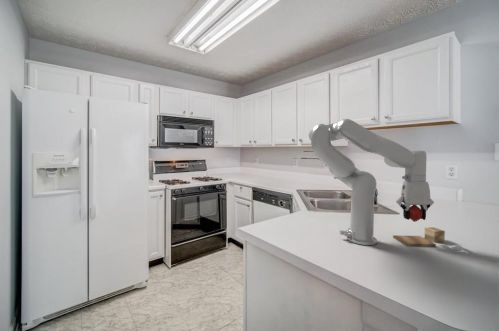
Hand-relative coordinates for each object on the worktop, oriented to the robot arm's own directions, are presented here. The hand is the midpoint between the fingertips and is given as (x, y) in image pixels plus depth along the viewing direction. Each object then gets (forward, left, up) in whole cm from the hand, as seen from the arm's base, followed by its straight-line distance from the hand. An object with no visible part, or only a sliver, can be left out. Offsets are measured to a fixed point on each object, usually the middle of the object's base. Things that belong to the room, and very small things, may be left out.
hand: (414, 218), depth 101 cm
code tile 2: (+11, +3, -11) cm, 16 cm away
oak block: (+11, +3, -11) cm, 15 cm away
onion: (0, 0, -2) cm, 2 cm away
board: (0, 0, -11) cm, 11 cm away
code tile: (+13, -7, -11) cm, 18 cm away
